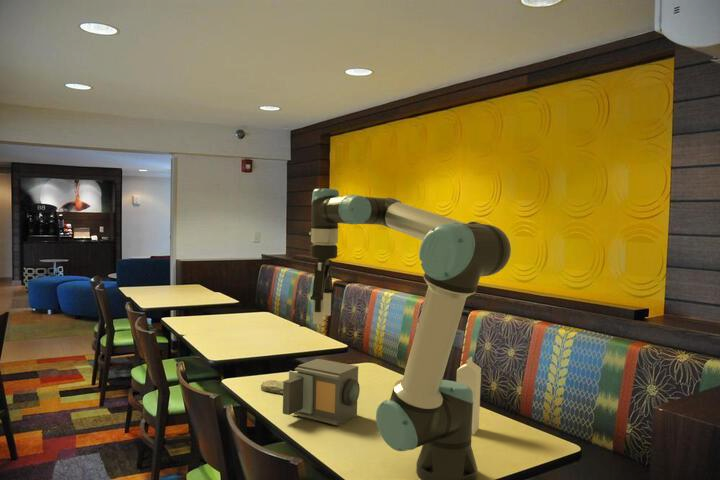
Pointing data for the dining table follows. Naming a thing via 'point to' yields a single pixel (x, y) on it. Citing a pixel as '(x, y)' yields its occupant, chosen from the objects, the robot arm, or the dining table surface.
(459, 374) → the milk
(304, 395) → the door
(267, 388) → the long grey stone
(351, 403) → the camera box
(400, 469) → the dining table surface
